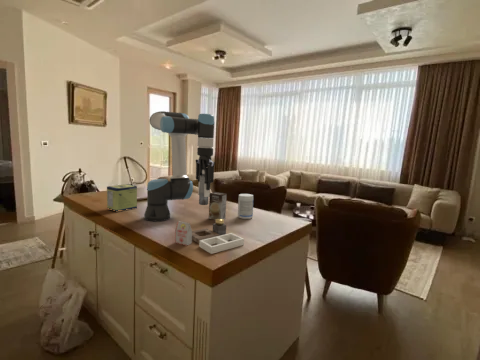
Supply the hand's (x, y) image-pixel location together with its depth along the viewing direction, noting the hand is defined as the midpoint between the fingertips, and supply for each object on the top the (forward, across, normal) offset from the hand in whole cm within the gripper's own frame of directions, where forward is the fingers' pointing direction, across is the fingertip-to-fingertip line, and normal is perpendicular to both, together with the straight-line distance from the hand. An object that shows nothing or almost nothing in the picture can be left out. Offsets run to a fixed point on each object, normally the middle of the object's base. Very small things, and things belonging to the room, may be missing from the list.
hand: (203, 195), depth 130 cm
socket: (+21, 0, -3) cm, 21 cm away
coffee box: (+22, +23, -25) cm, 40 cm away
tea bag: (+21, -2, +12) cm, 24 cm away
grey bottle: (+4, 0, 0) cm, 4 cm away
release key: (+20, 0, -10) cm, 22 cm away
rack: (+21, -14, -1) cm, 26 cm away
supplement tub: (+22, +16, -42) cm, 50 cm away
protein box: (+22, +74, +16) cm, 78 cm away
